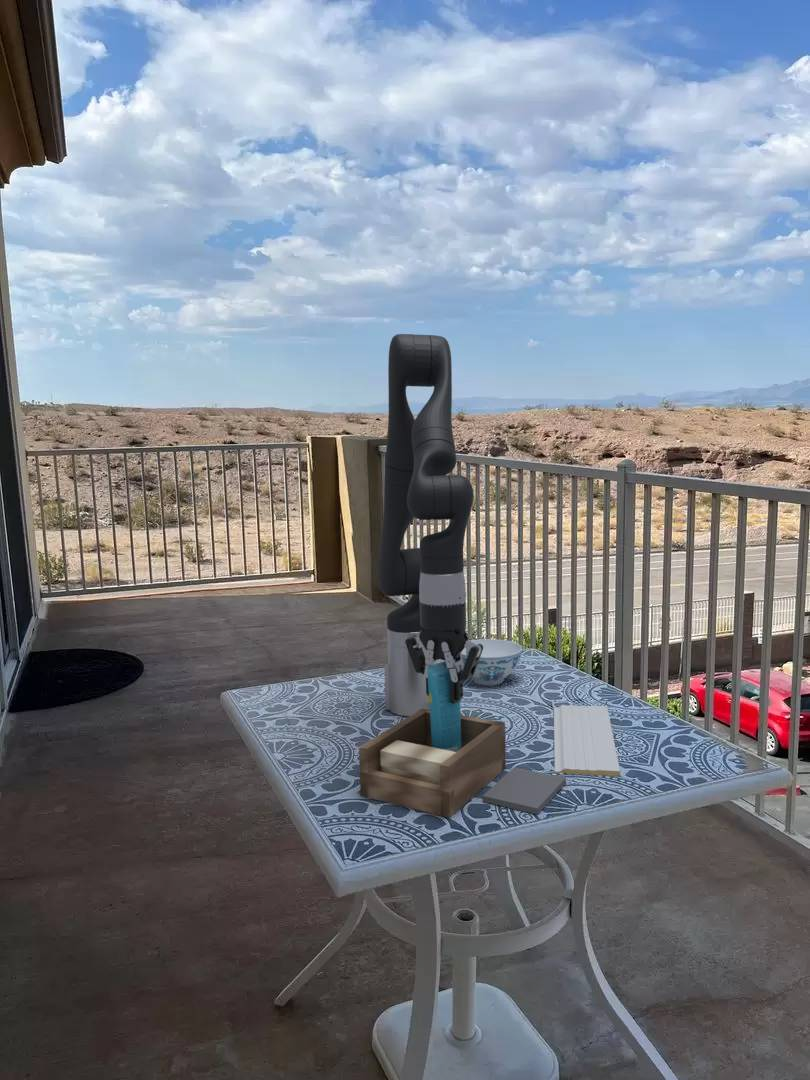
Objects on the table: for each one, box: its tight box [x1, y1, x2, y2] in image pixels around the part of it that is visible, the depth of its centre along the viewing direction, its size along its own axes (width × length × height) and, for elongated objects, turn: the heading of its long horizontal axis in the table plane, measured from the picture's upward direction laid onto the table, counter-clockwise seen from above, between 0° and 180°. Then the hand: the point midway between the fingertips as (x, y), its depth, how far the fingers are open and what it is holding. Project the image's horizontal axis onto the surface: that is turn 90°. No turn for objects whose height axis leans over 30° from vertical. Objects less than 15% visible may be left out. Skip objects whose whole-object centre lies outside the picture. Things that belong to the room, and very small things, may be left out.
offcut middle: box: [381, 766, 440, 785], centre depth 130 cm, size 11×5×2 cm, turn 61°
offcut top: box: [380, 740, 456, 779], centre depth 130 cm, size 11×5×2 cm, turn 59°
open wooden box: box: [358, 708, 507, 819], centre depth 134 cm, size 16×20×8 cm
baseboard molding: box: [547, 698, 621, 777], centre depth 151 cm, size 31×3×12 cm
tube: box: [427, 661, 461, 752], centre depth 137 cm, size 7×5×19 cm, turn 140°
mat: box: [482, 766, 567, 816], centre depth 130 cm, size 9×12×1 cm
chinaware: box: [461, 638, 523, 686], centre depth 186 cm, size 15×15×8 cm
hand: (444, 699), depth 136 cm, fingers closed on tube, 3 cm apart
